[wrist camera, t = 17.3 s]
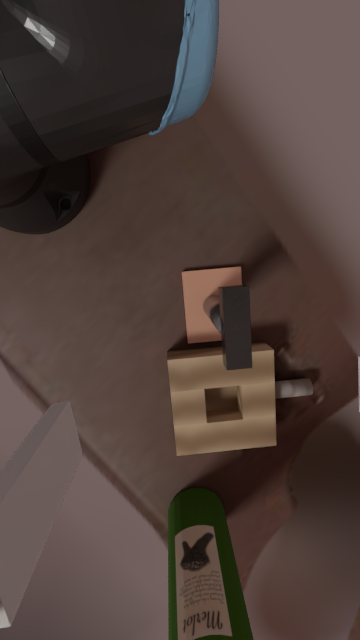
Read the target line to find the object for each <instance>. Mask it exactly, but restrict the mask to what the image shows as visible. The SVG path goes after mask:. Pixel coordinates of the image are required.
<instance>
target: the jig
mask: <svg viewBox="0 0 360 640" xmlns="http://www.w3.org/2000/svg"><path fill="white" fill-rule="evenodd" d="M251 344H252V368H247V369H237V370H226V368H225V366H224V364H223V355H222V346H216V347H205V348H195V349H185V350H174V351H167V360H168V370H169V381H170V391H171V401H172V411H173V421H174V431H175V441H176V451H177V456H180V455H190V454H199V453H209V452H219V451H228V450H238V449H248V448H257V447H267V446H276V411H275V399H276V398H286V397H296V396H306V395H312V394H313V385H312V382H311V380H310V379H309V378H304V379H294V380H284V381H275V374H274V350H273V349H272V348H271V347H270V346H269V345H267V344H266V343H265V342H258V343H251Z"/></svg>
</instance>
